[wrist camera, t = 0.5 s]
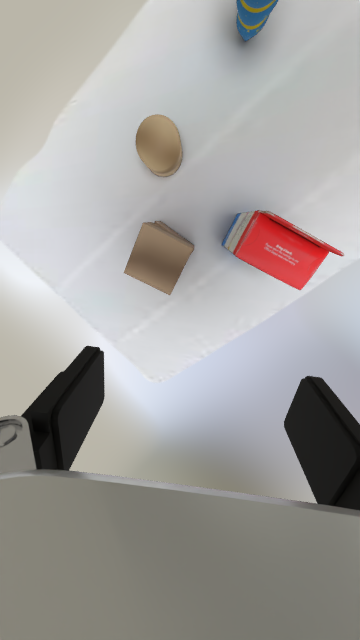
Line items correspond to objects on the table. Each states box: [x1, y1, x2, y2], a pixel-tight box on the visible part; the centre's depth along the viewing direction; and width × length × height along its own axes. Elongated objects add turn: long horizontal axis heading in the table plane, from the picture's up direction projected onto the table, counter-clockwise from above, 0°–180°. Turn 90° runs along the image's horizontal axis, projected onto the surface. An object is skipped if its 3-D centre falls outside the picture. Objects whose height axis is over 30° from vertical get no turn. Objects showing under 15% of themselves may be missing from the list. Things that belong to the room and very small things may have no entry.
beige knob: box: [136, 115, 182, 177], centre depth 28 cm, size 5×5×5 cm
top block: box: [124, 222, 193, 295], centre depth 28 cm, size 6×6×5 cm
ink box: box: [222, 210, 344, 290], centre depth 27 cm, size 8×5×15 cm, turn 65°
